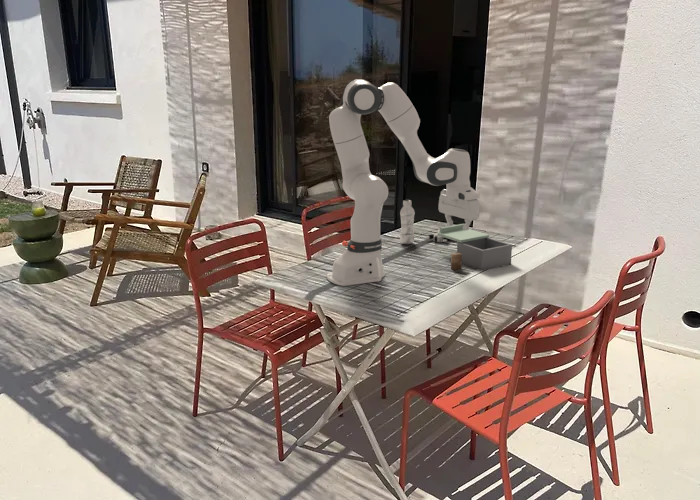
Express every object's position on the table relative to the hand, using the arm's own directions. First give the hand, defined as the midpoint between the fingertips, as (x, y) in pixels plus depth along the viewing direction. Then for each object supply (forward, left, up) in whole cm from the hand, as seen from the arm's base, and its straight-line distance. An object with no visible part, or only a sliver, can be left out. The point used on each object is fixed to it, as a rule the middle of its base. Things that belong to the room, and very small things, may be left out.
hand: (457, 227), depth 214 cm
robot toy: (+23, +37, -17) cm, 47 cm away
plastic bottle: (+5, +41, -17) cm, 45 cm away
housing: (+14, 0, -17) cm, 21 cm away
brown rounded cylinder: (0, 0, -17) cm, 17 cm away
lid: (+14, +13, -8) cm, 21 cm away
